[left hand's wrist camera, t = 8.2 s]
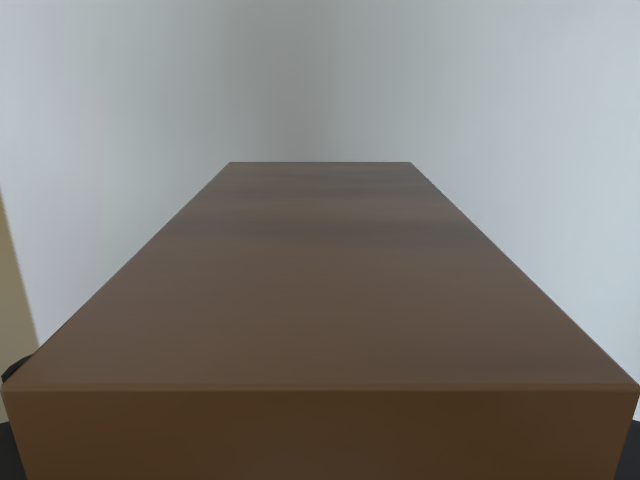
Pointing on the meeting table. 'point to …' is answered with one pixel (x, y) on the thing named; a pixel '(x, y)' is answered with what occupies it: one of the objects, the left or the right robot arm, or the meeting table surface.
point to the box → (320, 347)
